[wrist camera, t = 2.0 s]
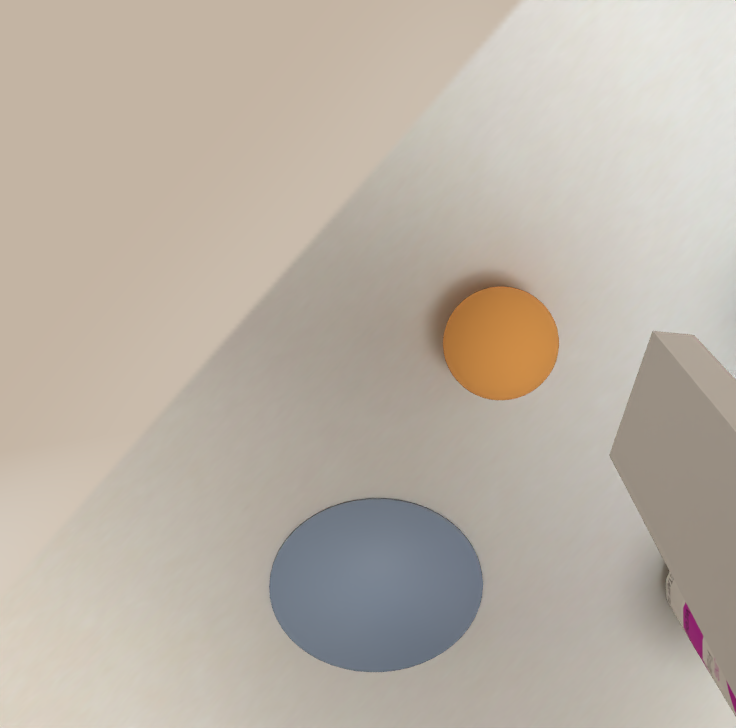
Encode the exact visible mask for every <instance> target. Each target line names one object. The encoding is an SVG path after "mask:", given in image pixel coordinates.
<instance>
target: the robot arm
mask: <svg viewBox="0 0 736 728" xmlns="http://www.w3.org/2000/svg"><path fill="white" fill-rule="evenodd" d="M609 456H610V458H611V460H612V461H613V463H614V465H615V467H616V469H617V471H618V473H619V475H620V477H621V479H622V481H623V483H624V484H625V486H626V488H627V490H628V492H629V494H630V496H631V498H632V500H633V502H634V504H635V506H636V508H637V509H638V511H639V513H640V515H641V517H642V519H643V521H644V523H645V525H646V527H647V529H648V531H649V532H650V534H651V536H652V538H653V540H654V542H655V544H656V546H657V548H658V550H659V552H660V554H661V556H662V557H663V559H664V561H665V563H666V565H667V567H668V569H669V571H670V573H671V575H672V577H673V579H674V580H675V582H676V584H677V586H678V588H679V590H680V592H681V594H682V596H683V598H684V600H685V602H686V604H687V605H688V607H689V609H690V611H691V613H692V615H693V617H694V619H695V621H696V623H697V625H698V627H699V628H700V630H701V632H702V634H703V636H704V638H705V640H706V642H707V644H708V646H709V648H710V650H711V652H712V653H713V655H714V657H715V659H716V661H717V663H718V665H719V667H720V669H721V671H722V673H723V675H724V677H725V678H726V680H727V682H728V684H729V686H730V688H731V690H732V692H733V694H734V696H735V698H736V380H735V379H734V377H733V376H732V375H731V374H730V373H729V372H728V371H727V370H726V369H725V368H724V367H723V366H722V365H721V363H720V362H719V361H718V360H717V359H716V358H715V357H714V356H713V355H712V354H711V353H710V352H709V351H708V350H707V348H706V347H705V346H704V345H703V344H702V343H701V342H700V341H699V340H698V339H697V338H696V337H695V336H694V335H688V334H678V333H668V332H658V331H652V334H651V337H650V340H649V343H648V346H647V349H646V352H645V354H644V357H643V360H642V363H641V366H640V369H639V372H638V374H637V377H636V380H635V383H634V386H633V389H632V392H631V395H630V397H629V400H628V403H627V406H626V409H625V412H624V415H623V417H622V420H621V423H620V426H619V429H618V432H617V435H616V438H615V440H614V443H613V446H612V449H611V452H610V455H609Z"/></svg>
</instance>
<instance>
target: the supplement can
mask: <svg viewBox="0 0 736 728" xmlns="http://www.w3.org/2000/svg"><path fill="white" fill-rule="evenodd" d="M666 599H667V601H668V603H669V605H670V607H671V609H672V610H673V612H674V614H675V616H676V618H677V619H678V621H679V623H680V624H681V626H682V628H683V629H684V631H685V633H686V634H687V636H688V638H689V639H690V641H691V643H692V644H693V646H694V648H695V649H696V651H697V653H698V654H699V656H700V658H701V659H702V661H703V663H704V664H705V666H706V668H707V669H708V671H709V673H710V674H711V676H712V678H713V679H714V681H715V683H716V684H717V686H718V688H719V689H720V691H721V693H722V694H723V696H724V698H725V699H726V701H727V703H728V704H729V706H730V708H731V709H732V711H733V713H734V714H735V716H736V698H735V696H734V694H733V692H732V690H731V688H730V686H729V684H728V682H727V680H726V678H725V677H724V675H723V673H722V671H721V669H720V667H719V665H718V663H717V661H716V659H715V657H714V655H713V653H712V652H711V650H710V648H709V646H708V644H707V642H706V640H705V638H704V636H703V634H702V632H701V630H700V628H699V627H698V625H697V623H696V621H695V619H694V617H693V615H692V613H691V611H690V609H689V607H688V605H687V604H686V602H685V600H684V598H683V596H682V594H681V592H680V590H679V588H678V586H677V584H676V582H675V580H674V579H673V577H672V575H671V573H670V571H669V574H668V576H667V579H666Z"/></svg>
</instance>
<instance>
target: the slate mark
mask: <svg viewBox="0 0 736 728" xmlns="http://www.w3.org/2000/svg"><path fill="white" fill-rule="evenodd" d="M269 588H270V599H271V604H272V608H273V611H274V613H275V616H276V618H277V620H278V622H279V624H280V625H281V627H282V629H283V630H284V631H285V633H286V634H287V635H288V636H289V638H290V639H291V640H292V641H293V642H295V643H296V644H297V645H298V646H299V647H300V648H301V649H303V650H304V651H306V652H307V653H308V654H310V655H312V656H314V657H315V658H317V659H319V660H321V661H323V662H326V663H328V664H330V665H334V666H337V667H340V668H344V669H349V670H354V671H363V672H386V671H395V670H400V669H405V668H409V667H412V666H415V665H418V664H421V663H423V662H426V661H428V660H430V659H432V658H434V657H436V656H437V655H439V654H441V653H443V652H444V651H445V650H447V649H448V648H449V647H451V646H452V645H453V644H454V643H455V642H456V641H457V640H459V639H460V638H461V637H462V635H463V634H464V633H465V632H466V630H467V629H468V628H469V626H470V625H471V623H472V621H473V620H474V618H475V616H476V614H477V611H478V609H479V606H480V602H481V598H482V589H483V580H482V572H481V568H480V564H479V560H478V558H477V555H476V553H475V551H474V549H473V547H472V545H471V544H470V542H469V541H468V539H467V538H466V537H465V536H464V535H463V533H462V532H461V531H460V530H459V529H458V528H457V527H456V526H455V525H453V524H452V523H451V522H450V521H448V520H447V519H445V518H444V517H442V516H441V515H439V514H438V513H436V512H434V511H432V510H430V509H428V508H425V507H422V506H420V505H417V504H414V503H410V502H405V501H401V500H393V499H362V500H355V501H350V502H346V503H342V504H339V505H336V506H333V507H330V508H328V509H326V510H324V511H322V512H320V513H318V514H316V515H314V516H312V517H311V518H309V519H308V520H306V521H305V522H304V523H302V524H301V525H300V526H299V527H298V528H297V529H295V530H294V531H293V532H292V534H291V535H290V536H289V537H288V538H287V539H286V540H285V542H284V544H283V545H282V547H281V548H280V550H279V552H278V554H277V556H276V558H275V561H274V563H273V567H272V571H271V576H270V586H269Z"/></svg>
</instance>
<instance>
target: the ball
mask: <svg viewBox="0 0 736 728" xmlns="http://www.w3.org/2000/svg"><path fill="white" fill-rule="evenodd" d="M443 349H444V356H445V360H446V363H447V365H448V368H449V369H450V371H451V373H452V375H453V376H454V377H455V379H456V380H457V381H458V382H459V383H460V384H461V385H462V386H463V387H464V388H466V389H467V390H468V391H470V392H472V393H474V394H475V395H478V396H480V397H483V398H487V399H491V400H509V399H515V398H518V397H521V396H524V395H526V394H528V393H530V392H531V391H533V390H535V389H536V388H537V387H538V386H540V385H541V384H542V383H543V382H544V380H545V379H546V378H547V377H548V375H549V374H550V373H551V371H552V369H553V367H554V365H555V362H556V359H557V355H558V349H559V337H558V331H557V327H556V324H555V321H554V319H553V317H552V315H551V314H550V312H549V311H548V309H547V308H546V307H545V306H544V305H543V304H542V302H540V301H539V300H538V299H537V298H535V297H534V296H533V295H531V294H529V293H527V292H525V291H522V290H520V289H516V288H512V287H490V288H486V289H483V290H480V291H478V292H476V293H474V294H472V295H470V296H469V297H467V298H466V299H464V300H463V301H462V302H461V303H460V304H459V305H458V306H457V307H456V309H455V310H454V311H453V313H452V314H451V316H450V318H449V320H448V322H447V325H446V328H445V332H444V337H443Z"/></svg>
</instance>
